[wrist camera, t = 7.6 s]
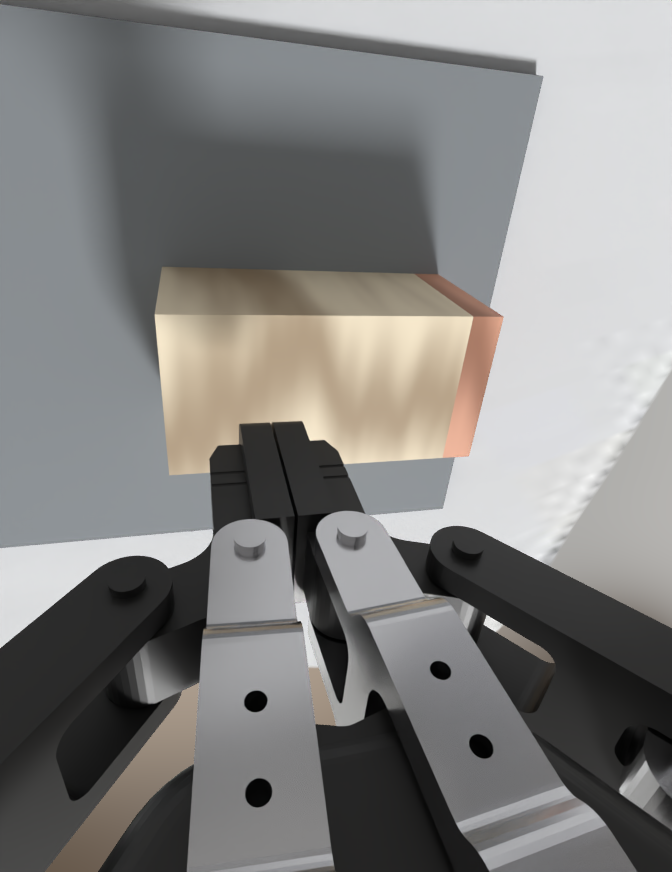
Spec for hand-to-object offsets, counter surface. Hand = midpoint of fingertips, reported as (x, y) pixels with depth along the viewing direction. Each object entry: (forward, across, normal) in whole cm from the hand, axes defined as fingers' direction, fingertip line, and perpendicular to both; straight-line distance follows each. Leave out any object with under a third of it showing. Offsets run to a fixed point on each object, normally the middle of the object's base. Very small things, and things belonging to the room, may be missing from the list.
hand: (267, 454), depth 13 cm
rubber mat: (+8, +1, 0) cm, 9 cm away
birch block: (+6, +3, 0) cm, 6 cm away
